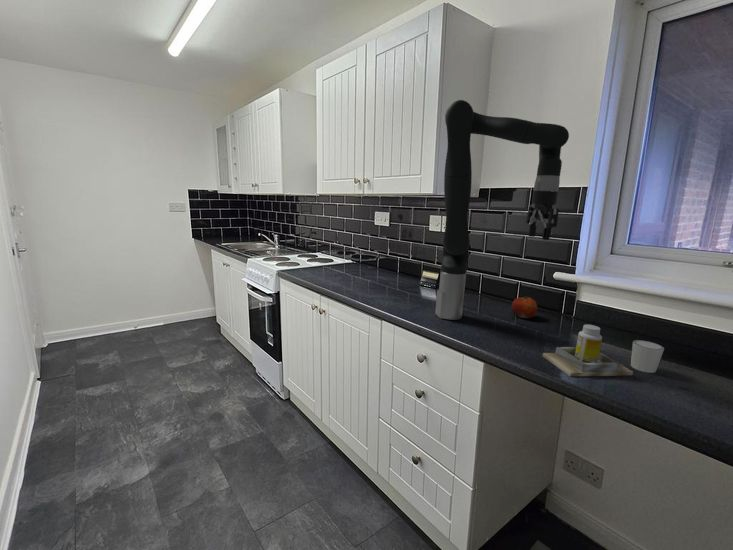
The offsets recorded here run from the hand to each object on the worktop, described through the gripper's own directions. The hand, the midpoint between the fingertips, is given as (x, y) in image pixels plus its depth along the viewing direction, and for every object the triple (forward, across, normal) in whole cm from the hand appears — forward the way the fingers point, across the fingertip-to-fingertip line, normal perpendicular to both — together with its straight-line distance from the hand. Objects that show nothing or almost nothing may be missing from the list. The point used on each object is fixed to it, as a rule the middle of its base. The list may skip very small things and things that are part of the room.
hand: (538, 238), depth 124 cm
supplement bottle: (+31, +32, 0) cm, 44 cm away
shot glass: (+32, +34, +16) cm, 49 cm away
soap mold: (+120, +20, +7) cm, 122 cm away
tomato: (+32, -9, +4) cm, 33 cm away
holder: (+32, +32, 0) cm, 45 cm away
